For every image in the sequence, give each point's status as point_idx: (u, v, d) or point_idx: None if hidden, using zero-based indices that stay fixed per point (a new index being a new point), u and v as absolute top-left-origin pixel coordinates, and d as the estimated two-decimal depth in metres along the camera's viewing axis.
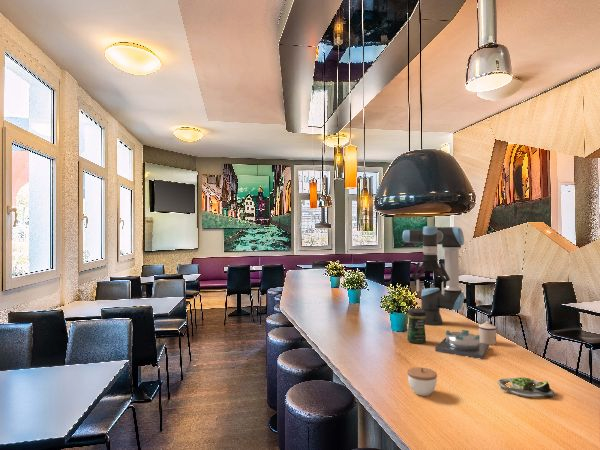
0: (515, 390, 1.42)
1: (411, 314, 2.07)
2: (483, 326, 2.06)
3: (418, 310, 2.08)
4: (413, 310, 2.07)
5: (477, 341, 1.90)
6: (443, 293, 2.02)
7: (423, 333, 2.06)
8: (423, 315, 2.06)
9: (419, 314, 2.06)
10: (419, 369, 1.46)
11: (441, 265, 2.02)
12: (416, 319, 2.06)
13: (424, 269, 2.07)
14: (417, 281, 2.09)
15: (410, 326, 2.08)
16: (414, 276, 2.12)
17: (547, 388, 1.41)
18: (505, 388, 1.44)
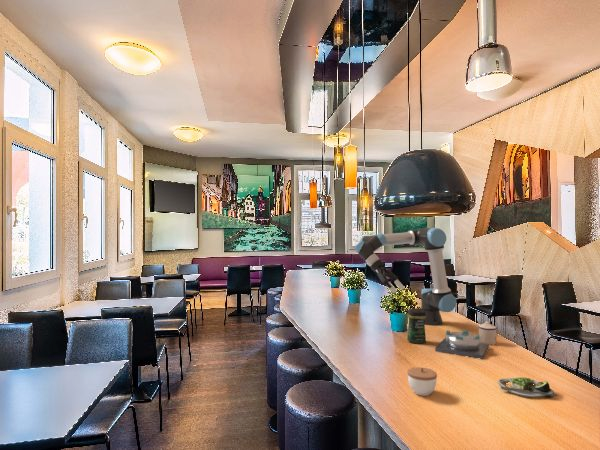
0: (515, 390, 1.42)
1: (411, 314, 2.07)
2: (483, 326, 2.06)
3: (418, 310, 2.08)
4: (413, 310, 2.07)
5: (477, 341, 1.90)
6: (393, 292, 2.10)
7: (423, 333, 2.06)
8: (423, 315, 2.06)
9: (419, 314, 2.06)
10: (419, 369, 1.46)
11: None
12: (416, 319, 2.06)
13: None
14: None
15: (410, 326, 2.08)
16: None
17: (547, 388, 1.41)
18: (505, 388, 1.44)
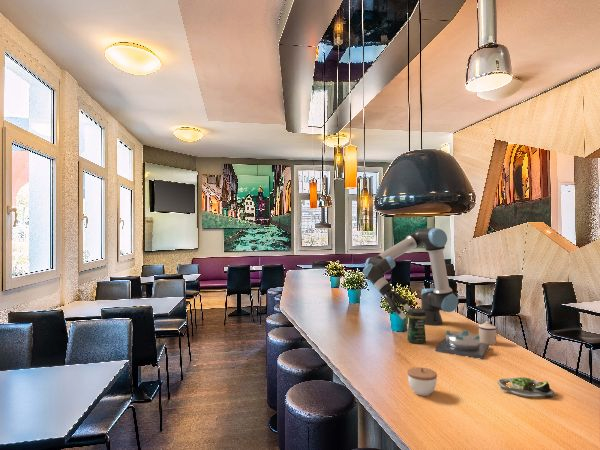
0: (515, 390, 1.42)
1: (411, 314, 2.07)
2: (483, 326, 2.06)
3: (418, 310, 2.08)
4: (413, 310, 2.07)
5: (477, 341, 1.90)
6: (402, 318, 2.06)
7: (423, 333, 2.06)
8: (423, 315, 2.06)
9: (419, 314, 2.06)
10: (419, 369, 1.46)
11: None
12: (416, 319, 2.06)
13: None
14: None
15: (410, 326, 2.08)
16: None
17: (547, 388, 1.41)
18: (505, 388, 1.44)
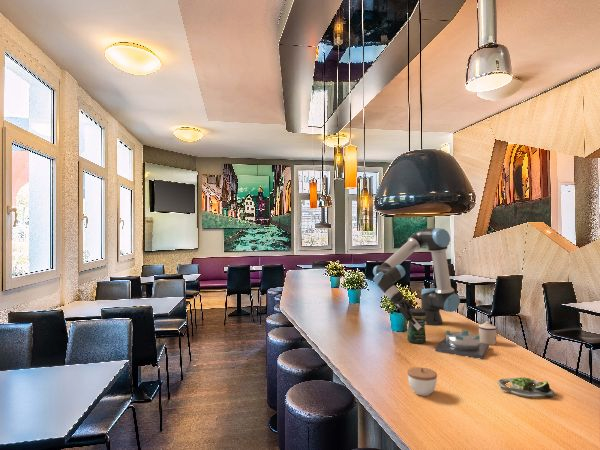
0: (515, 390, 1.42)
1: (411, 314, 2.07)
2: (483, 326, 2.06)
3: (418, 310, 2.08)
4: (413, 310, 2.08)
5: (477, 341, 1.90)
6: (418, 329, 2.04)
7: (423, 333, 2.06)
8: (423, 315, 2.06)
9: (419, 314, 2.06)
10: (419, 369, 1.46)
11: None
12: (416, 319, 2.06)
13: None
14: None
15: (410, 326, 2.08)
16: None
17: (547, 388, 1.41)
18: (505, 388, 1.44)
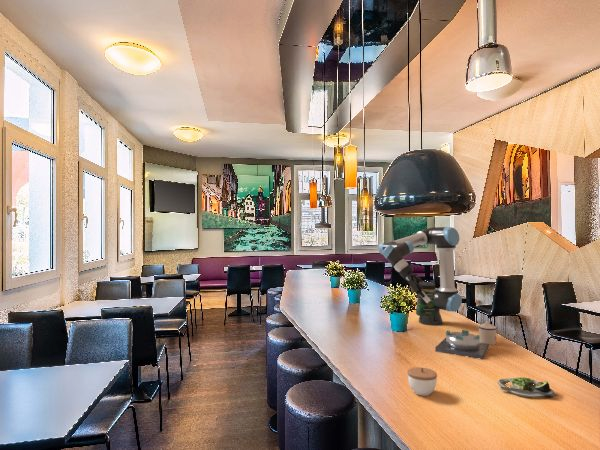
0: (515, 390, 1.42)
1: (420, 287, 2.03)
2: (483, 326, 2.06)
3: (428, 283, 2.03)
4: (422, 283, 2.03)
5: (477, 341, 1.90)
6: (427, 302, 2.00)
7: (432, 307, 2.02)
8: (433, 288, 2.02)
9: (428, 287, 2.02)
10: (419, 369, 1.46)
11: None
12: (426, 292, 2.02)
13: None
14: None
15: (419, 299, 2.04)
16: None
17: (547, 388, 1.41)
18: (505, 388, 1.44)
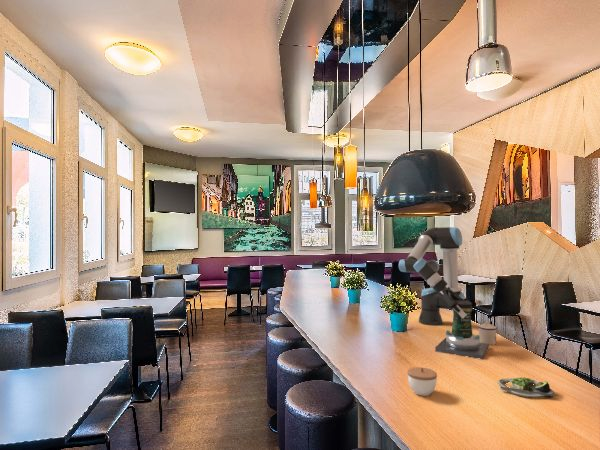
0: (515, 390, 1.42)
1: None
2: (483, 326, 2.06)
3: (464, 302, 1.95)
4: (458, 302, 1.94)
5: (477, 341, 1.90)
6: (463, 317, 1.89)
7: (470, 326, 1.93)
8: (469, 307, 1.93)
9: (465, 306, 1.93)
10: (419, 369, 1.46)
11: None
12: None
13: None
14: None
15: (455, 319, 1.95)
16: None
17: (547, 388, 1.41)
18: (505, 388, 1.44)
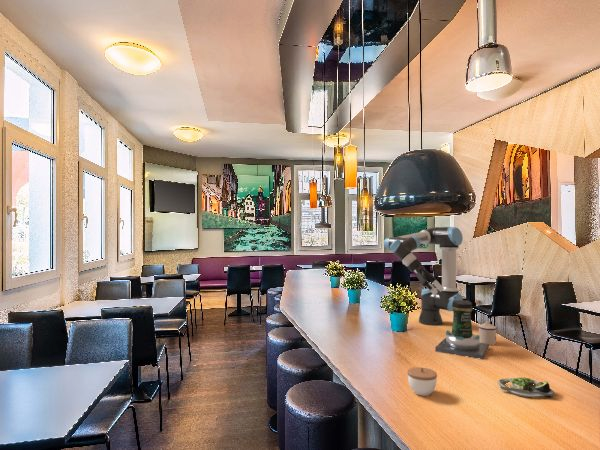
0: (515, 390, 1.42)
1: (456, 306, 1.94)
2: (483, 326, 2.06)
3: (464, 302, 1.95)
4: (458, 302, 1.95)
5: (477, 341, 1.90)
6: (434, 294, 1.98)
7: (470, 326, 1.93)
8: (470, 307, 1.93)
9: (465, 306, 1.93)
10: (419, 369, 1.46)
11: None
12: (462, 311, 1.93)
13: None
14: None
15: (455, 319, 1.95)
16: None
17: (547, 388, 1.41)
18: (505, 388, 1.44)
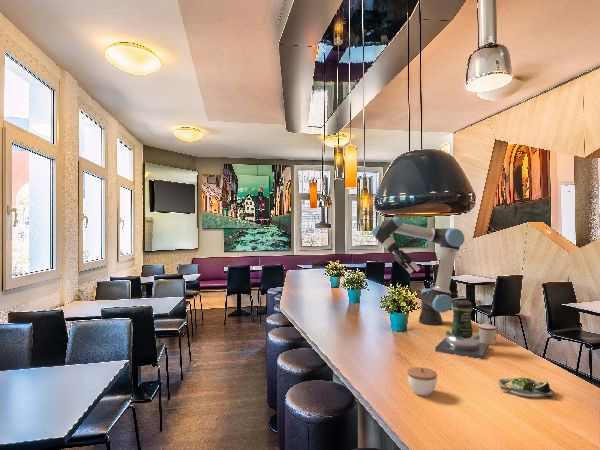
0: (515, 390, 1.42)
1: (456, 306, 1.94)
2: (483, 326, 2.06)
3: (464, 302, 1.95)
4: (459, 302, 1.95)
5: (477, 341, 1.90)
6: (410, 272, 2.21)
7: (470, 326, 1.93)
8: (470, 307, 1.93)
9: (465, 306, 1.93)
10: (419, 369, 1.46)
11: None
12: (462, 311, 1.93)
13: None
14: (410, 264, 2.35)
15: (455, 319, 1.95)
16: None
17: (547, 388, 1.41)
18: (505, 388, 1.44)
